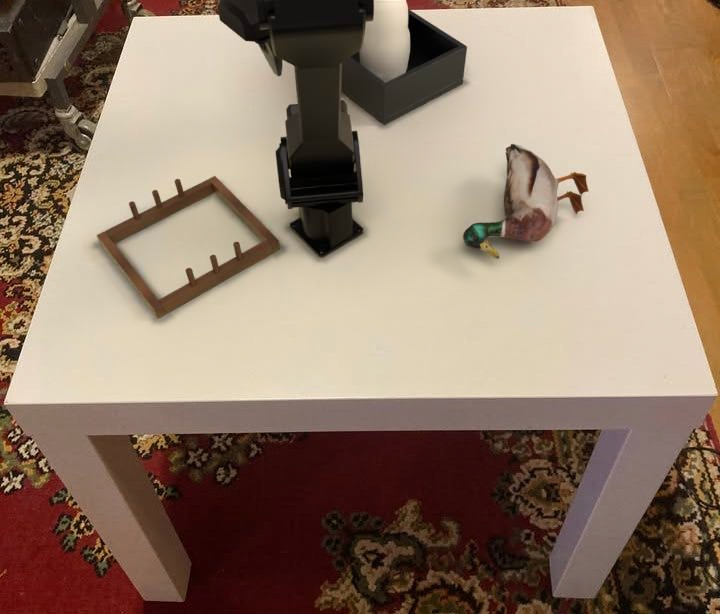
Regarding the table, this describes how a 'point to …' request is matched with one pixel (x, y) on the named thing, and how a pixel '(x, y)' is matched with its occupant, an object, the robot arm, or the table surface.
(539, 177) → the decorative duck model
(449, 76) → the dark grey open box
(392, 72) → the figurine
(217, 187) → the drying rack
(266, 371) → the table surface
